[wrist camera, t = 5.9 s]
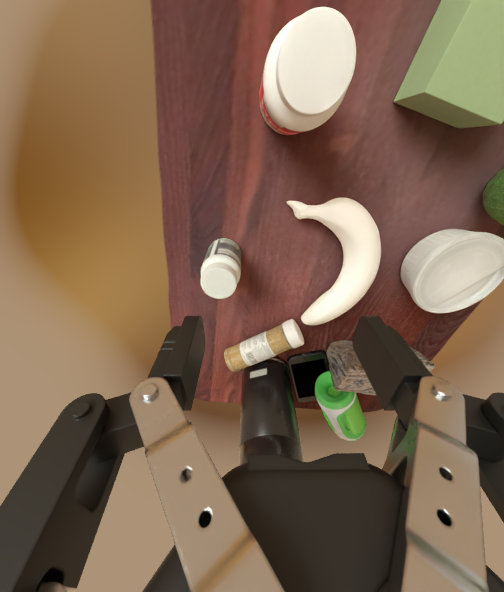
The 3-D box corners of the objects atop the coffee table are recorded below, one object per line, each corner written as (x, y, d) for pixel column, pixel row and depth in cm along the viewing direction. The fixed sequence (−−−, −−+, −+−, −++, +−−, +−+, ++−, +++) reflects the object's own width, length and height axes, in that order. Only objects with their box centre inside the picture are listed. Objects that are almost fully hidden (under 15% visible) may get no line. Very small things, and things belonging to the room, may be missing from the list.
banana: (327, 325, 39) (246, 303, 37) (395, 216, 30) (294, 177, 28) (336, 345, 35) (246, 321, 32) (419, 225, 26) (302, 179, 23)
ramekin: (441, 299, 36) (468, 320, 32) (377, 286, 35) (396, 307, 31) (496, 231, 30) (538, 245, 26) (422, 213, 29) (452, 225, 25)
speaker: (327, 434, 51) (337, 403, 55) (361, 451, 46) (371, 416, 50) (305, 398, 41) (320, 363, 45) (347, 414, 36) (359, 374, 40)
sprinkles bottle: (239, 366, 43) (305, 338, 39) (231, 377, 38) (305, 348, 35) (228, 344, 43) (293, 315, 39) (219, 353, 38) (291, 321, 35)
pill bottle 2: (248, 114, 24) (247, 92, 14) (279, 37, 21) (303, -52, 11) (298, 147, 25) (326, 148, 16) (333, 81, 22) (393, 34, 13)
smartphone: (325, 348, 42) (326, 352, 42) (330, 395, 50) (331, 398, 50) (285, 355, 43) (286, 358, 43) (296, 399, 51) (297, 403, 51)
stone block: (414, 330, 40) (446, 365, 33) (392, 365, 45) (416, 401, 38) (336, 324, 39) (353, 359, 32) (322, 360, 44) (334, 396, 37)
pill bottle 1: (216, 272, 34) (207, 306, 27) (202, 243, 31) (188, 271, 24) (246, 263, 33) (245, 295, 26) (235, 232, 30) (230, 258, 23)
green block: (457, 128, 24) (501, 124, 20) (392, 102, 23) (424, 92, 19) (525, 20, 20) (598, -14, 16) (450, -20, 19) (507, -67, 15)
